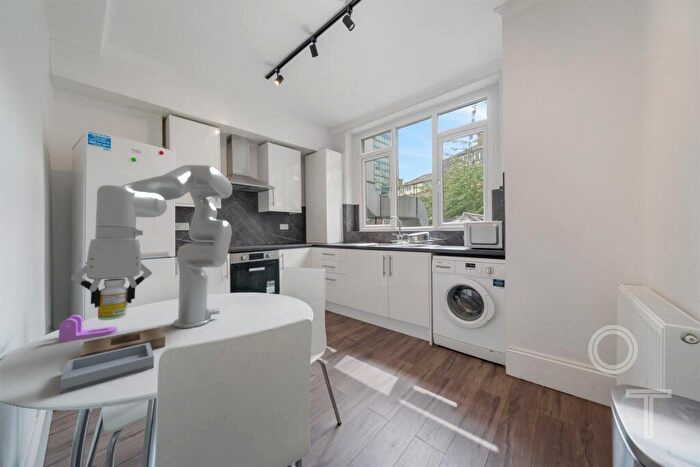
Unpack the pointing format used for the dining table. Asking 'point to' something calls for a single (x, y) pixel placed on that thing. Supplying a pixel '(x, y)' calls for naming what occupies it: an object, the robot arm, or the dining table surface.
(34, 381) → the dining table surface
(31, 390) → the dining table surface
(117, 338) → the socket holder
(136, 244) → the robot arm
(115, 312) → the supplement bottle
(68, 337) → the bracket
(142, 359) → the parts tray
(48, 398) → the dining table surface
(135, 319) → the dining table surface
